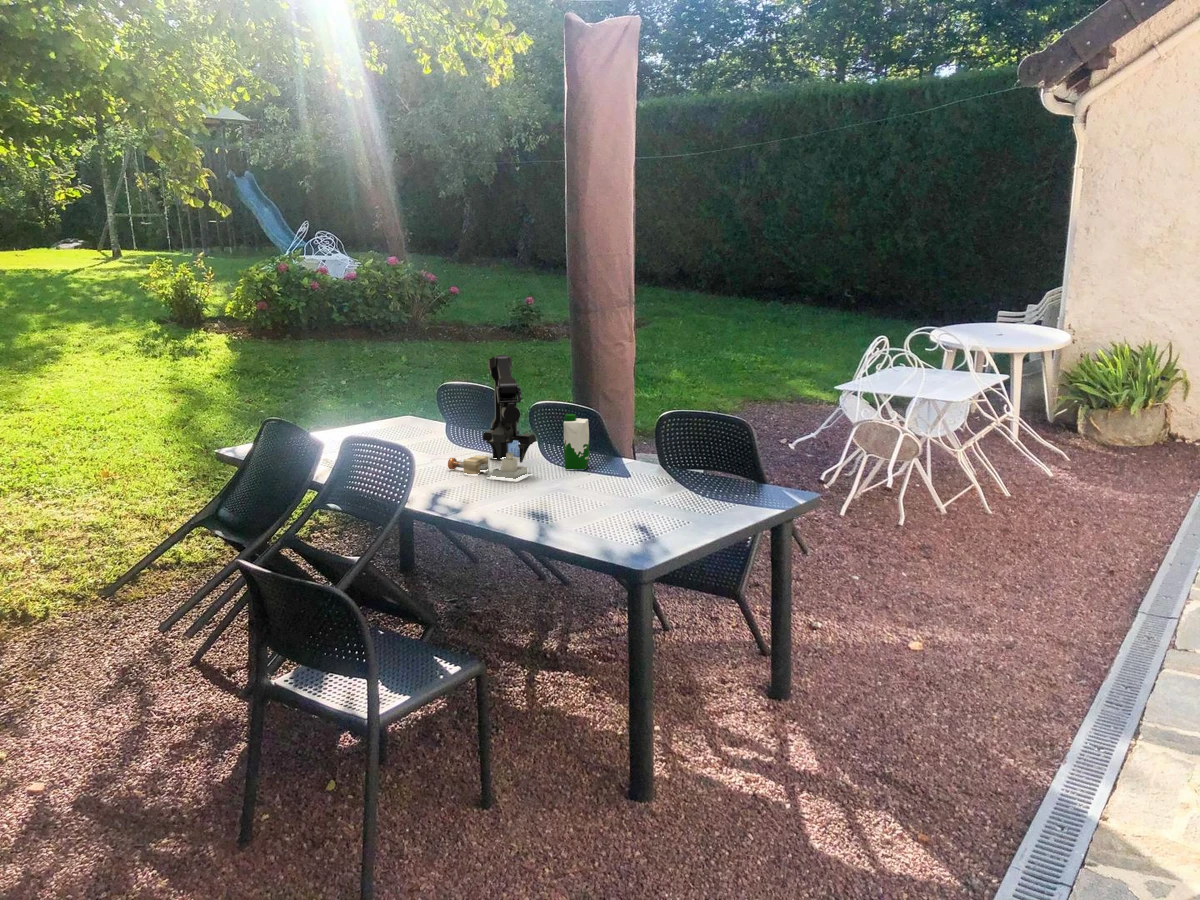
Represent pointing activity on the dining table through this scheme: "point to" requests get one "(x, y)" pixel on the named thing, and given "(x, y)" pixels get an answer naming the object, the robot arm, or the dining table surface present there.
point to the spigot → (509, 463)
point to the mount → (474, 464)
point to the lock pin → (461, 464)
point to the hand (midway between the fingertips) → (509, 461)
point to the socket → (510, 474)
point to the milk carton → (576, 442)
